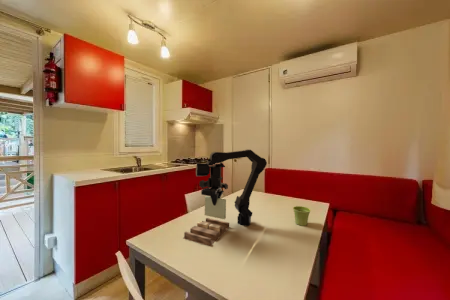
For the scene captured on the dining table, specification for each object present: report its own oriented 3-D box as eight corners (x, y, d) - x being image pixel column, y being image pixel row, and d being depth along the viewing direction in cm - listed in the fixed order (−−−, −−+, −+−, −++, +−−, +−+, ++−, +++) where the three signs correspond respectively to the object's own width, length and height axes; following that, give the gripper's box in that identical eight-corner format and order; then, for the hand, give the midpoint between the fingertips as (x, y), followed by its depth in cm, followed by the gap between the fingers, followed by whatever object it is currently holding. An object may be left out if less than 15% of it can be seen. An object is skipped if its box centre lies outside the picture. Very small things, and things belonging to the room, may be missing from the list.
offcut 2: (219, 234, 92) (220, 225, 92) (217, 236, 90) (217, 227, 90) (211, 231, 94) (211, 223, 94) (208, 233, 92) (208, 225, 92)
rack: (230, 228, 99) (230, 222, 99) (210, 248, 81) (210, 240, 81) (206, 223, 106) (206, 217, 106) (182, 239, 87) (182, 232, 87)
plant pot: (312, 228, 101) (312, 212, 101) (293, 226, 103) (294, 211, 103) (308, 221, 110) (308, 206, 110) (291, 219, 112) (291, 205, 112)
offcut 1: (208, 231, 95) (208, 223, 95) (205, 232, 93) (205, 225, 93) (199, 228, 97) (199, 221, 97) (197, 230, 95) (197, 223, 95)
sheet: (225, 218, 98) (226, 199, 97) (224, 219, 96) (224, 200, 96) (206, 214, 103) (206, 196, 103) (204, 215, 101) (204, 196, 101)
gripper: (211, 172, 111) (211, 198, 111) (192, 176, 94) (192, 207, 94) (228, 173, 106) (228, 201, 106) (211, 179, 89) (211, 211, 90)
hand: (215, 204), depth 99 cm, fingers closed on sheet, 2 cm apart
